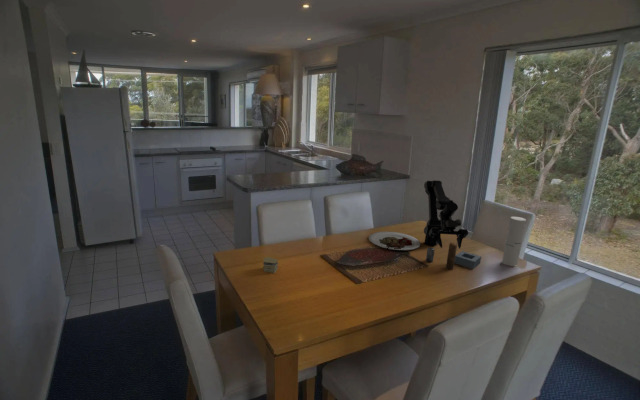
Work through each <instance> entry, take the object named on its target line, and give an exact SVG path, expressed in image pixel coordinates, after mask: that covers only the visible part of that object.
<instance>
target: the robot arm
mask: <svg viewBox="0 0 640 400" xmlns="http://www.w3.org/2000/svg"><path fill="white" fill-rule="evenodd" d="M442 184H443V183H442V181H441V180H435V179H434V180H426V181H424V184H423V185H424V186H423V187H424V190H425V193H426V194H427V196H428V221H426V225H425V227H424V228H423V233H424V235H425V237H424V242H423V245H427V246H430V247H435V246H437V245H439V247H440V248H443V242H442V237H441V235H453V236H456V243H457V248H458V249H461V247H462V243H463V239H465V238H466V237H467V236H468V235H469V230H468V229H467V228H459V229H458V230H456V228H458V227H460V226H461V225H462V221H461V219H459V218H458V219H455V220H453V219H452V218H453V216H454V215H455V213H456V212H457V210H459V209H458V208H459V206H458V204H457V203H456V202H454V200H453V199H450V197H447V195H446V193H445V190H444V188H443V185H442ZM438 211H440V212H439V214H438ZM438 217H440V219H439V218H438Z"/></svg>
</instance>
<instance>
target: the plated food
mask: <svg viewBox="0 0 640 400" xmlns="http://www.w3.org/2000/svg"><path fill="white" fill-rule="evenodd" d="M368 240H369V241H370V243H372V244H373V245H375V246H378V247H381V248H384V249H387V248H388V247H389V248H388V250H394V251H412V250H415V249H418V248H420V246H421V241H420V240H419V239H417V238H416V237H414V236H412V235H410V234H406V233H403V232H398V231H396V232H395V231H377V232H373V233H371V234H370V235H369V236H368ZM393 247H398V248H401V249H394V248H393Z"/></svg>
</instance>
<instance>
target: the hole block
mask: <svg viewBox="0 0 640 400" xmlns="http://www.w3.org/2000/svg"><path fill="white" fill-rule="evenodd" d="M481 260H482V256H480V255H478V254H474V253H470V252H468V251H464V250H462V251H460V252H459V253H456V256H455V262H454V264H456V265H460V266H462V267H465V268H469V269H472V270H473V269H474V270H475V268H476V267H478V266H479V265H480V264H481Z"/></svg>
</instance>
